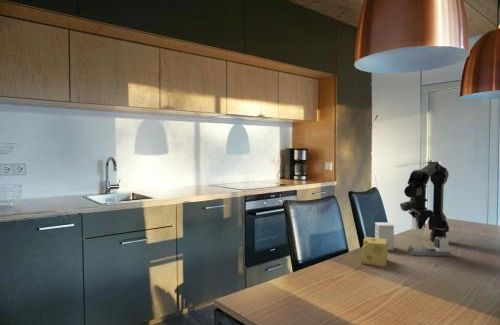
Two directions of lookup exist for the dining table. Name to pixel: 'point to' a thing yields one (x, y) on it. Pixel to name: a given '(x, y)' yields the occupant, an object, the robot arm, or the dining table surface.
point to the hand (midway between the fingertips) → (418, 228)
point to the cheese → (374, 251)
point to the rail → (439, 250)
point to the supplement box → (385, 233)
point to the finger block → (416, 224)
